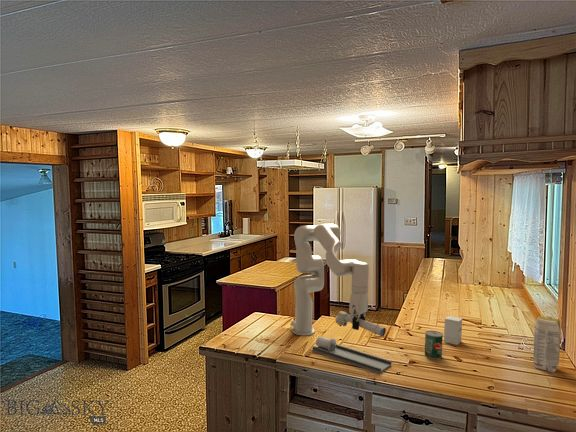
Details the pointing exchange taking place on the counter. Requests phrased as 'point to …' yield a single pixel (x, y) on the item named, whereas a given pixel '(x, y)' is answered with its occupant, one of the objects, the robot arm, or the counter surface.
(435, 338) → the canned tomato
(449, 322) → the supplement box
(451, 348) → the counter surface
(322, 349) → the pipe jig board
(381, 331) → the white electric toothbrush
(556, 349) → the juice carton
